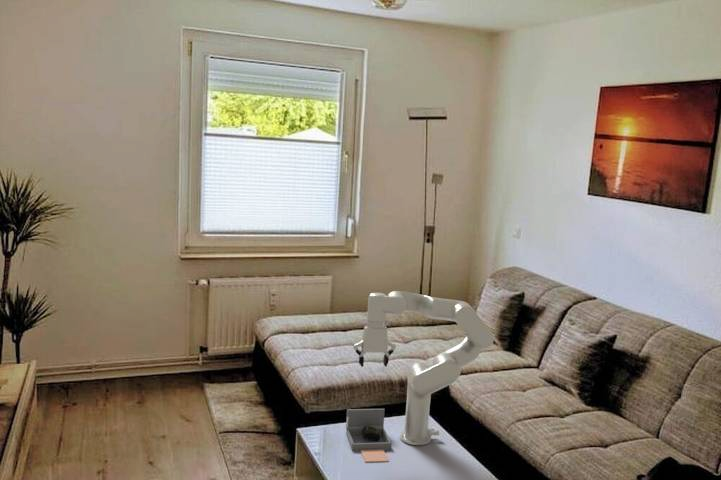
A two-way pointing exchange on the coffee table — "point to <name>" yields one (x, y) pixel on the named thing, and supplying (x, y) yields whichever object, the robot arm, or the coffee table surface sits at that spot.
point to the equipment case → (361, 419)
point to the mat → (374, 455)
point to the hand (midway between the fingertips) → (373, 365)
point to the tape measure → (371, 433)
